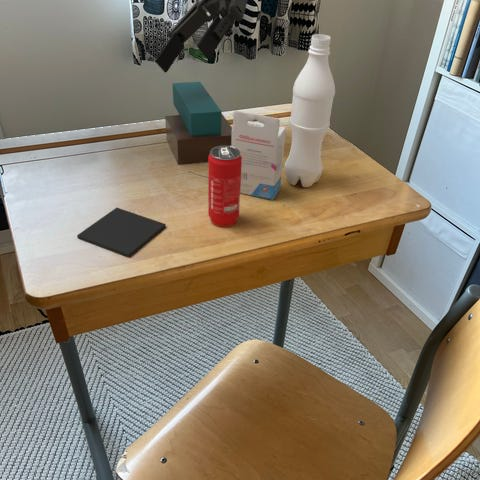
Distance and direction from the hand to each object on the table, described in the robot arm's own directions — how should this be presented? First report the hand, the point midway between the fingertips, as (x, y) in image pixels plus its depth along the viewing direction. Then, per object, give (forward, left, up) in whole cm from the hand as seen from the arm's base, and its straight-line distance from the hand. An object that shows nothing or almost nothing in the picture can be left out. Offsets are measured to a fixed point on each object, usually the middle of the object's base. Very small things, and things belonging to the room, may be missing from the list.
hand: (180, 59), depth 91 cm
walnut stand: (0, +6, -18) cm, 19 cm away
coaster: (+6, -28, -18) cm, 34 cm away
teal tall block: (-2, +8, -11) cm, 14 cm away
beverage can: (+18, -16, -19) cm, 30 cm away
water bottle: (+24, +4, -19) cm, 31 cm away
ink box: (+18, -4, -19) cm, 26 cm away
